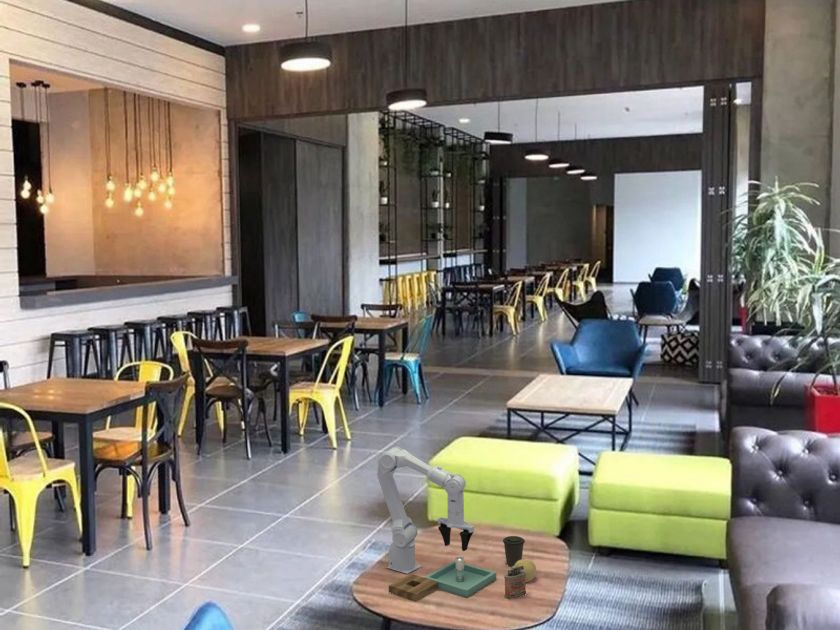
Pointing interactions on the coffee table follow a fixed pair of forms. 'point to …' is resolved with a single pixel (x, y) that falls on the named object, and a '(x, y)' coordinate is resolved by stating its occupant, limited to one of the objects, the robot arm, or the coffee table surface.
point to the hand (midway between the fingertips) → (455, 547)
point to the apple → (527, 568)
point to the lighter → (515, 582)
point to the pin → (459, 569)
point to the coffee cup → (513, 549)
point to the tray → (472, 579)
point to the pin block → (413, 587)
